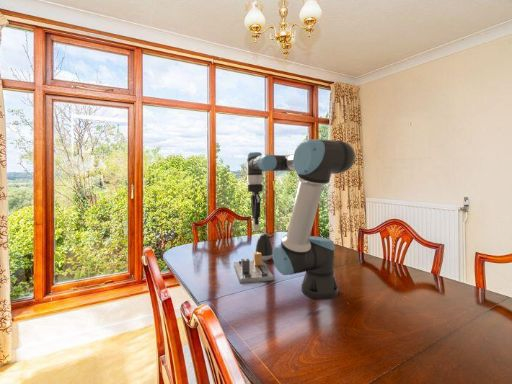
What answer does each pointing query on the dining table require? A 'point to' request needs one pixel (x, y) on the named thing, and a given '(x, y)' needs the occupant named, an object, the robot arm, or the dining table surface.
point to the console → (253, 273)
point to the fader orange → (257, 258)
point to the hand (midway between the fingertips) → (256, 230)
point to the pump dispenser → (264, 246)
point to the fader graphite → (245, 265)
